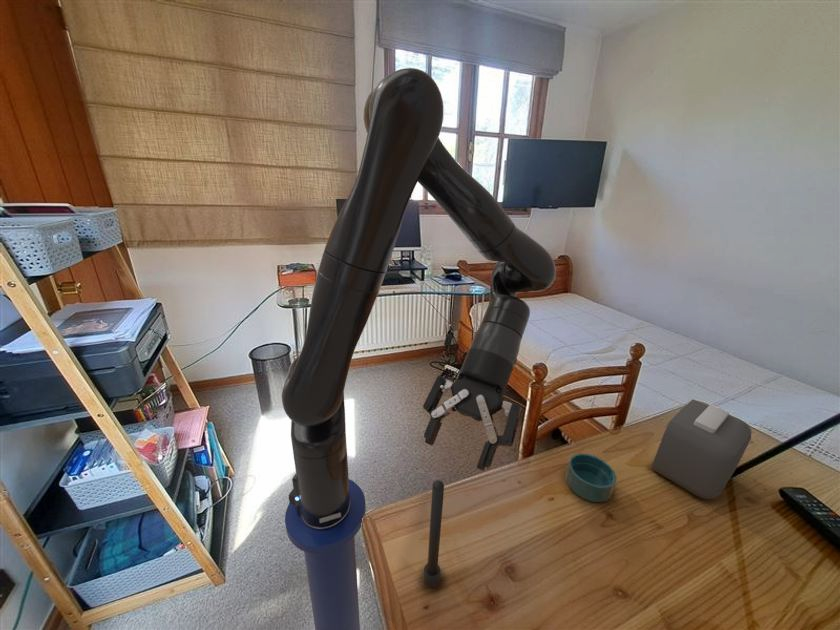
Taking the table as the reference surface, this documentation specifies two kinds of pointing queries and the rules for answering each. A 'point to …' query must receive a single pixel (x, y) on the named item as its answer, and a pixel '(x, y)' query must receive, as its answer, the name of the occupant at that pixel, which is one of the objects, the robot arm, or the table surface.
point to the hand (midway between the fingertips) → (453, 456)
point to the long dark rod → (434, 536)
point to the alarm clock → (702, 449)
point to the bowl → (590, 477)
